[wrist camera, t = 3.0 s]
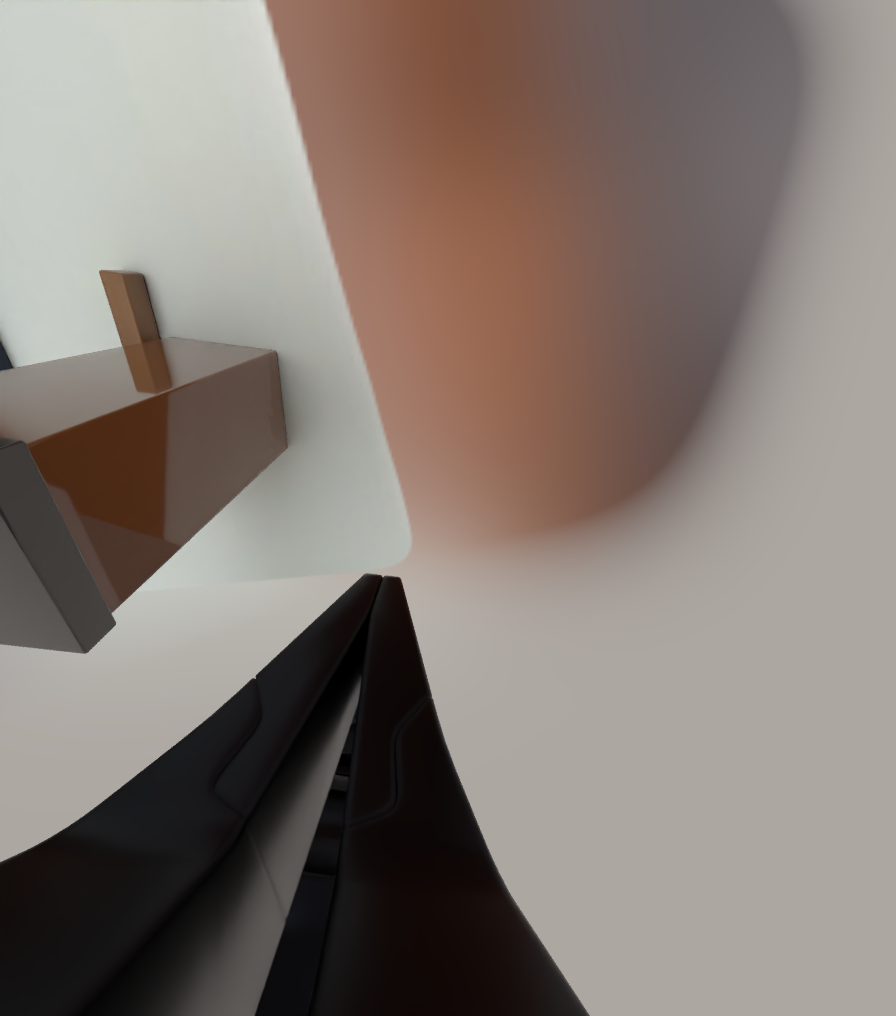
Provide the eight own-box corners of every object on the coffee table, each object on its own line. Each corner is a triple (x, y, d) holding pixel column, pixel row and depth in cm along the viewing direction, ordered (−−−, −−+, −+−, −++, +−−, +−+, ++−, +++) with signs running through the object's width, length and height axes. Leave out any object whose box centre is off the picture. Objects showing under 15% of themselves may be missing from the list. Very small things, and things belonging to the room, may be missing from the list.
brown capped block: (292, 452, 21) (86, 655, 10) (192, 439, 20) (-133, 630, 9) (280, 346, 18) (-32, 459, 7) (164, 331, 18) (-346, 421, 7)
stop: (197, 476, 22) (183, 486, 21) (179, 474, 22) (165, 484, 21) (143, 273, 16) (122, 273, 15) (120, 270, 16) (97, 269, 15)
